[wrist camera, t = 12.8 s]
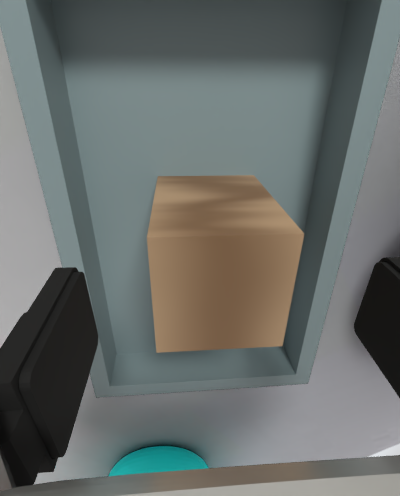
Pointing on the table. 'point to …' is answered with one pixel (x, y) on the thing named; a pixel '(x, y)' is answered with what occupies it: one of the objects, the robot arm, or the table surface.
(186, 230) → the block
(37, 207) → the table surface
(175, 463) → the donuts
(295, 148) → the tray
